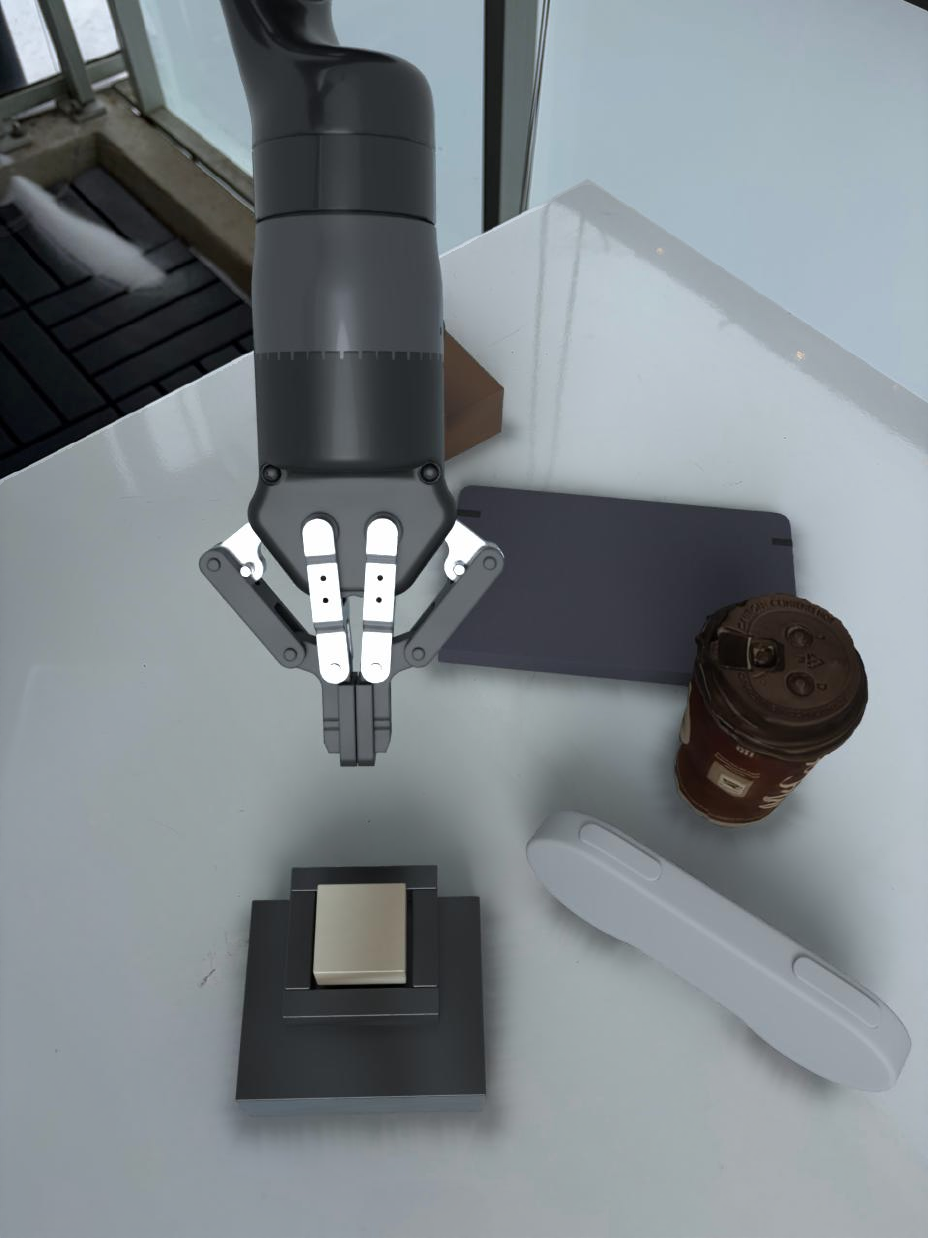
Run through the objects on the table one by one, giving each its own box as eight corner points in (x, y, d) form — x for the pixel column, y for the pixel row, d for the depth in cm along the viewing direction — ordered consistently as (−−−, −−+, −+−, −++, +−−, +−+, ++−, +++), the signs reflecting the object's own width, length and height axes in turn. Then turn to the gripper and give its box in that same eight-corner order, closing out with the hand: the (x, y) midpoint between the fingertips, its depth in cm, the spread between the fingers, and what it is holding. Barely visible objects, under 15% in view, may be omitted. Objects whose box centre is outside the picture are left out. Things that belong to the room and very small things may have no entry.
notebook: (437, 662, 65) (796, 697, 64) (437, 648, 63) (804, 684, 62) (459, 498, 72) (783, 528, 71) (460, 483, 70) (790, 513, 69)
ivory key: (317, 986, 49) (312, 973, 47) (321, 899, 51) (317, 884, 49) (406, 984, 49) (405, 971, 47) (406, 897, 51) (405, 882, 49)
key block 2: (358, 524, 70) (352, 462, 65) (272, 419, 75) (260, 354, 70) (512, 443, 74) (517, 379, 69) (420, 348, 79) (419, 282, 74)
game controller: (879, 1066, 52) (945, 1026, 46) (859, 1108, 51) (925, 1074, 44) (542, 844, 58) (555, 779, 51) (518, 878, 57) (529, 816, 50)
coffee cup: (618, 766, 61) (657, 644, 50) (713, 680, 64) (770, 548, 53) (739, 876, 58) (809, 771, 47) (833, 780, 61) (919, 661, 50)
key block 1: (248, 1117, 51) (227, 1094, 46) (265, 908, 56) (247, 867, 51) (483, 1111, 51) (487, 1088, 46) (476, 904, 56) (480, 863, 51)
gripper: (158, 342, 39) (185, 795, 43) (522, 342, 40) (519, 790, 43) (201, 350, 47) (221, 735, 50) (508, 349, 47) (506, 732, 50)
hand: (359, 760), depth 47 cm, fingers closed
